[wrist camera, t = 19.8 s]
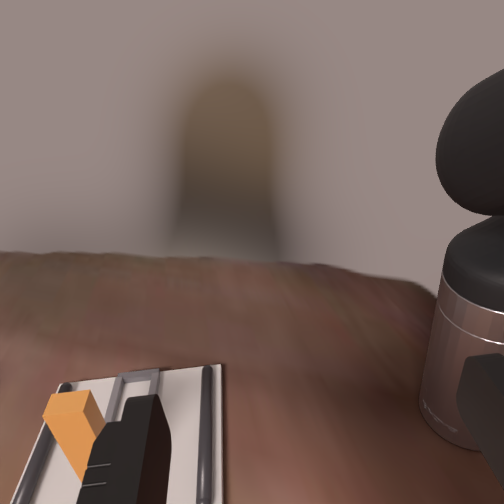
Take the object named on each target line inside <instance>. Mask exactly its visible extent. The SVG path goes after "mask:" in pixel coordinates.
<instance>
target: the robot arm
mask: <svg viewBox="0 0 504 504" xmlns="http://www.w3.org/2000/svg"><path fill="white" fill-rule="evenodd" d="M436 169H437V174H438V177H439V179H440V182H441V185H442V186H443V188H444V190H445V191H446V193H447V194H448V195H449V196H450V197H451V198H452V200H453V201H454V202H456V203H457V204H459V205H460V206H461V207H463V208H465V209H467V210H469V211H471V212H474V213H478V214H483V215H489V216H492V217H490V218H489V219H486V220H484V221H482V222H480V223H478V224H476V225H474V226H472V227H470V228H467V229H465V230H463V231H462V232H460V233H459V234H457V235H456V236H455V237H454V238H453V239H452V241H451V242H450V243H449V245H448V247H447V251H446V254H445V259H444V265H443V270H442V275H441V280H440V285H439V291H438V297H437V302H436V308H435V313H434V318H433V324H432V329H431V334H430V340H429V345H428V350H427V356H426V361H425V367H424V372H423V377H422V383H421V388H420V394H419V407H420V411H421V414H422V415H423V417H424V419H425V421H426V422H427V423H428V424H429V426H430V427H431V428H432V429H433V430H434V431H435V432H436V433H437V434H439V435H440V436H441V437H443V438H444V439H446V440H447V441H449V442H451V443H453V444H455V445H458V446H460V447H462V448H466V449H470V450H476V451H481V452H482V454H483V456H484V458H485V459H486V461H487V463H488V464H489V466H490V468H491V469H492V471H493V473H494V475H495V476H496V478H497V480H498V481H499V483H500V485H501V486H502V488H503V490H504V69H502V70H500V71H499V72H497V73H495V74H493V75H491V76H490V77H488V78H486V79H485V80H483V81H481V82H480V83H478V84H476V85H475V86H474V87H472V88H471V89H470V90H469V91H467V92H466V93H465V94H464V95H463V96H462V97H461V98H460V100H459V101H458V102H457V103H456V104H455V106H454V107H453V109H452V110H451V112H450V113H449V115H448V117H447V118H446V120H445V123H444V125H443V127H442V130H441V132H440V135H439V138H438V142H437V148H436ZM171 453H172V441H171V432H170V428H169V425H168V422H167V419H166V416H165V413H164V410H163V407H162V404H161V401H160V398H159V396H158V394H152V395H143V396H135V397H129V398H127V400H126V402H125V405H124V409H123V413H122V417H121V421H115V422H107V423H106V425H105V426H104V428H103V429H102V431H101V432H100V434H99V435H98V437H97V438H96V439H95V441H94V442H93V445H92V449H91V453H90V456H89V460H88V463H87V470H85V474H84V477H83V481H82V488H81V489H80V491H79V495H78V498H77V502H76V504H166V502H167V492H168V483H169V473H170V463H171Z"/></svg>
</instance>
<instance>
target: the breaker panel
mask: <svg viewBox="0 0 504 504" xmlns="http://www.w3.org/2000/svg"><path fill="white" fill-rule="evenodd" d="M89 389H90V390H91V392H92V394H93V396H94V399H95V401H96V403H97V405H98V407H99V409H100V412H101V414H102V416H103V418H104V420H105V422H106V423H107V422H115V421H121V417H122V413H123V409H124V405H125V402H126V400H127V398H129V397H135V396H143V395H152V394H158V396H159V398H160V401H161V404H162V407H163V410H164V413H165V416H166V419H167V422H168V425H169V428H170V432H171V441H172V453H171V463H170V473H169V483H168V492H167V502H166V504H223V417H222V368H221V364H218V365H206V366H202V367H194V368H186V369H178V370H169V371H161V372H160V370H159V368H158V369H150V370H141V371H133V372H125V373H118V376H117V377H112V378H104V379H96V380H88V381H80V382H72V383H68V382H66V383H63V384H60V385H59V387H58V390H57V392H56V394H57V393H65V392H73V391H81V390H89ZM81 485H82V483H81V481H80V480H79V478H78V476H77V474H76V473H75V471H74V469H73V468H72V466H71V464H70V463H69V461H68V459H67V457H66V456H65V454H64V452H63V451H62V449H61V447H60V446H59V444H58V442H57V440H56V439H55V437H54V435H53V434H52V432H51V430H50V429H49V427H48V425H47V423H46V422H45V421H44V423H43V426H42V428H41V430H40V433H39V435H38V438H37V440H36V442H35V445H34V447H33V450H32V452H31V454H30V457H29V459H28V462H27V464H26V466H25V469H24V471H23V474H22V476H21V478H20V481H19V483H18V486H17V488H16V490H15V493H14V495H13V498H12V500H11V502H10V504H76V502H77V498H78V495H79V491H80V488H81Z"/></svg>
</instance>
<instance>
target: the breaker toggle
mask: <svg viewBox="0 0 504 504" xmlns="http://www.w3.org/2000/svg"><path fill="white" fill-rule="evenodd" d="M42 417H43V418H44V420H45V422H46V423H47V425H48V427H49V429H50V430H51V432H52V434H53V435H54V437H55V439H56V440H57V442H58V444H59V446H60V447H61V449H62V451H63V452H64V454H65V456H66V457H67V459H68V461H69V463H70V464H71V466H72V468H73V469H74V471H75V473H76V474H77V476H78V478H79V480H80V481H81V483H82V481H83V477H84V474H85V470H87V463H88V460H89V456H90V453H91V449H92V445H93V442H94V441H95V439H96V438H97V437H98V435H99V434H100V432H101V431H102V429H103V428H104V426H105V425H106V422H105V420H104V418H103V416H102V414H101V412H100V409H99V407H98V405H97V403H96V401H95V399H94V396H93V394H92V392H91V390H90V389H89V390H81V391H73V392H65V393H57V394H52V395H51V397H50V400H49V402H48V404H47V407H46V409H45V411H44V414H43V416H42ZM81 488H82V485H81ZM81 488H80V489H81Z"/></svg>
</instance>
